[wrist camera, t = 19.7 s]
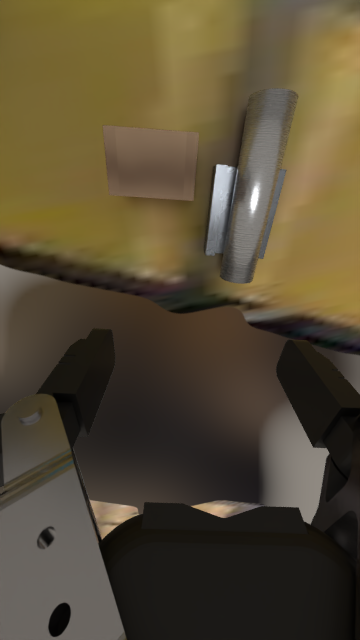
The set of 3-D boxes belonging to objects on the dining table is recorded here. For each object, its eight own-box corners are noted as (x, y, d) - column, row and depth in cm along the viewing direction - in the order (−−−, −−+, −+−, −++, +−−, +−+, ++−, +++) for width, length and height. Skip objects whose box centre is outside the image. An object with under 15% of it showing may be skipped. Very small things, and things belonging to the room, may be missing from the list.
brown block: (125, 144, 25) (102, 125, 18) (194, 149, 25) (199, 132, 18) (128, 193, 28) (109, 195, 20) (190, 198, 28) (193, 200, 21)
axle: (240, 100, 22) (268, 84, 18) (276, 109, 23) (309, 95, 19) (214, 272, 31) (229, 284, 27) (241, 271, 32) (259, 282, 29)
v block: (213, 166, 26) (216, 164, 24) (277, 171, 26) (286, 169, 24) (203, 250, 31) (205, 254, 29) (257, 254, 31) (263, 258, 29)
